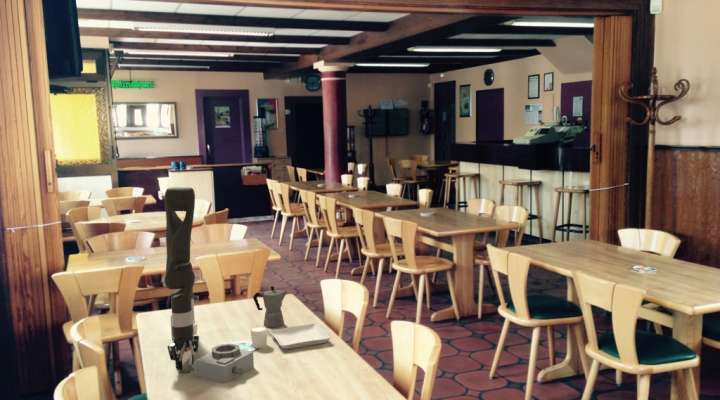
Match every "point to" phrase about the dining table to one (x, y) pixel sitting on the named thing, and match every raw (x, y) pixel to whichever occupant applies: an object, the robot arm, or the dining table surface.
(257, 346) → the cream short cylinder
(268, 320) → the coffeepot
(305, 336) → the salad plate
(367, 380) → the dining table surface
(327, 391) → the dining table surface
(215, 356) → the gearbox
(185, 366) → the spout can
